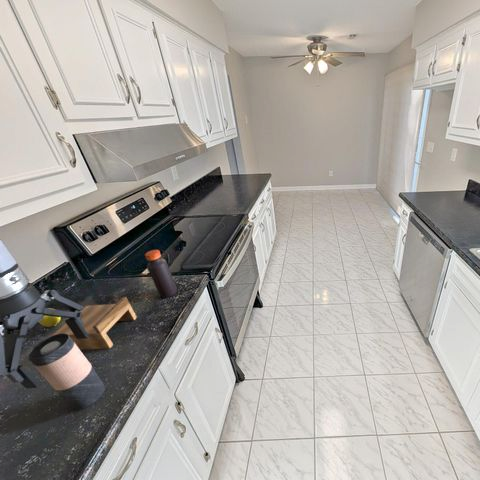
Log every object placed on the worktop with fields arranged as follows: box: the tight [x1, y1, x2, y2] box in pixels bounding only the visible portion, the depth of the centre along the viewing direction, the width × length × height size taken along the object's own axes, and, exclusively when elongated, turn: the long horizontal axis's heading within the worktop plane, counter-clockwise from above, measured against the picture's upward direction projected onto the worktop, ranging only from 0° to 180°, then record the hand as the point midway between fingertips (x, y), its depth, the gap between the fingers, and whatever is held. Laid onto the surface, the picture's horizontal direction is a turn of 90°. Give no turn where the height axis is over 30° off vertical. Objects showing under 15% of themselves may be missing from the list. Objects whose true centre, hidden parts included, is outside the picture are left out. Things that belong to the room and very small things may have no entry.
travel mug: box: [26, 333, 106, 411], centre depth 65 cm, size 8×8×20 cm
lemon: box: [38, 307, 62, 328], centre depth 93 cm, size 6×6×8 cm
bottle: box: [144, 249, 178, 299], centre depth 104 cm, size 7×7×20 cm
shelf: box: [51, 296, 137, 351], centre depth 88 cm, size 16×14×10 cm
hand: (60, 359), depth 62 cm, fingers open, 13 cm apart
